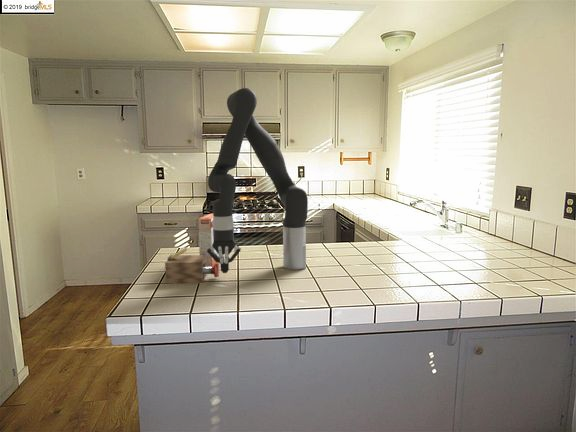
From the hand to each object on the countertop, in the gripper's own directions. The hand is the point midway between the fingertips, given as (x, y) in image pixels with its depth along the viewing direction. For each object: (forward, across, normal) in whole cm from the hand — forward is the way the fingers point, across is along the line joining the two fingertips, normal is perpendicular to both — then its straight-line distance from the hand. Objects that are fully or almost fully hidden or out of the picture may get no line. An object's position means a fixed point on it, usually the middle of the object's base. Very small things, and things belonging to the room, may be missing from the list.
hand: (224, 272), depth 154 cm
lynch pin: (+2, +10, 0) cm, 10 cm away
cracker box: (+3, +8, -21) cm, 23 cm away
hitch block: (+3, +14, 0) cm, 15 cm away
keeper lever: (-7, +17, 0) cm, 19 cm away
